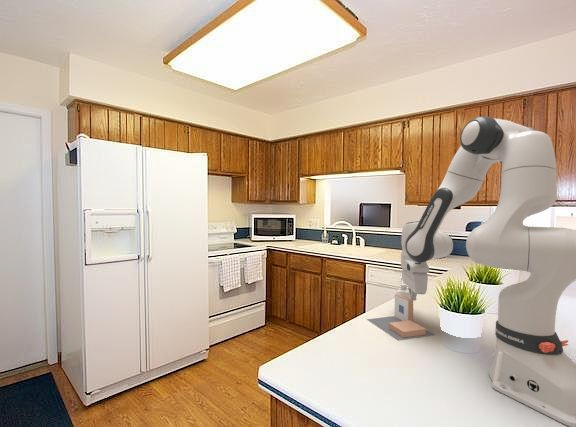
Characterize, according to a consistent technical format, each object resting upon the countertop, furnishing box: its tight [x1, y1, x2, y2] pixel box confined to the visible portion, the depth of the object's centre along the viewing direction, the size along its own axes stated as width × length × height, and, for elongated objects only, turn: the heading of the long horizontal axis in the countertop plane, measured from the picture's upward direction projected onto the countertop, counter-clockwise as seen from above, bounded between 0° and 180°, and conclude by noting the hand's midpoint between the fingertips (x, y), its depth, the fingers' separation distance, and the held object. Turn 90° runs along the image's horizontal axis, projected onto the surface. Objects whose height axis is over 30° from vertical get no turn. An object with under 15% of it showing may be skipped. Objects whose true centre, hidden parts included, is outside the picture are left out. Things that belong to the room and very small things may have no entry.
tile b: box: [394, 293, 414, 322], centre depth 115 cm, size 8×2×9 cm, turn 17°
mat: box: [366, 315, 436, 342], centre depth 109 cm, size 19×15×1 cm
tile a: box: [389, 320, 427, 338], centre depth 104 cm, size 8×2×9 cm
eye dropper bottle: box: [396, 281, 409, 298], centre depth 128 cm, size 4×6×12 cm
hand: (412, 299), depth 116 cm, fingers closed
